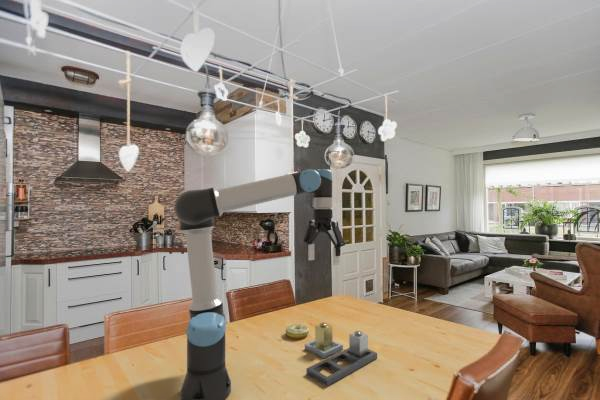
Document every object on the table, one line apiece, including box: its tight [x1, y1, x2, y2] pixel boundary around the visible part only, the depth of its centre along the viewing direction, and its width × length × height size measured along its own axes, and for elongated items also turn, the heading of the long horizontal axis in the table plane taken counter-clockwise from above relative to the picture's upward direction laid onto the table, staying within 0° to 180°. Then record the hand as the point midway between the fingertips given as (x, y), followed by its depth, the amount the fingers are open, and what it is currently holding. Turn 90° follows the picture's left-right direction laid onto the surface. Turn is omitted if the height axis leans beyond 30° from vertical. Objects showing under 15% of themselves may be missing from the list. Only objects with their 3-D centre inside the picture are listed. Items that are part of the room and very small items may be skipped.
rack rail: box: [306, 347, 378, 387], centre depth 114 cm, size 28×10×2 cm, turn 132°
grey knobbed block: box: [348, 330, 369, 359], centre depth 120 cm, size 5×5×10 cm
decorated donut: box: [285, 323, 310, 340], centre depth 142 cm, size 10×11×4 cm
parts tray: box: [304, 339, 344, 360], centre depth 127 cm, size 11×11×2 cm
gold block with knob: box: [314, 322, 333, 352], centre depth 127 cm, size 5×5×10 cm
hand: (323, 262), depth 122 cm, fingers open, 13 cm apart
